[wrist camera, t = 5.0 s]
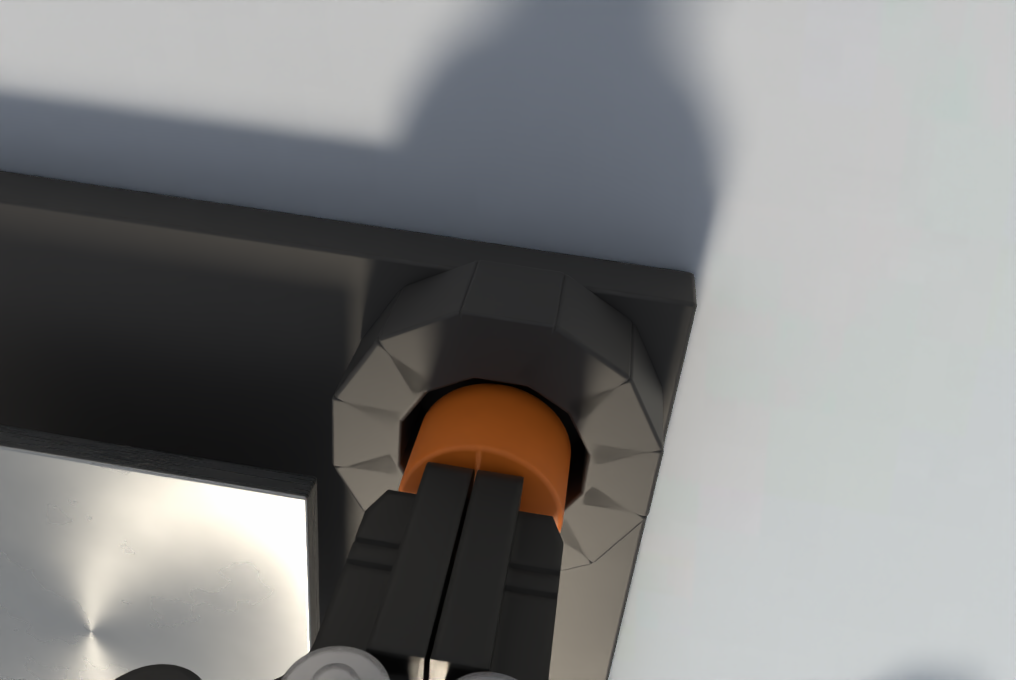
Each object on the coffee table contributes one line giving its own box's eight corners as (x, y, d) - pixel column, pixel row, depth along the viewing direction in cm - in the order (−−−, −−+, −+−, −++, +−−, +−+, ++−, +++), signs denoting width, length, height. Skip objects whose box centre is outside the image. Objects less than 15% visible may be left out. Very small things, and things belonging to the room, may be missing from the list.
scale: (697, 258, 16) (706, 348, 14) (584, 747, 24) (576, 863, 21) (-155, 134, 17) (-295, 196, 15) (-2, 640, 25) (-77, 739, 22)
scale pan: (318, 475, 16) (306, 499, 15) (323, 778, 21) (315, 802, 20) (-167, 395, 17) (-193, 415, 16) (-52, 707, 21) (-69, 730, 21)
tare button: (581, 394, 15) (573, 463, 13) (561, 513, 16) (552, 587, 15) (423, 369, 15) (398, 434, 13) (416, 489, 16) (393, 560, 15)
